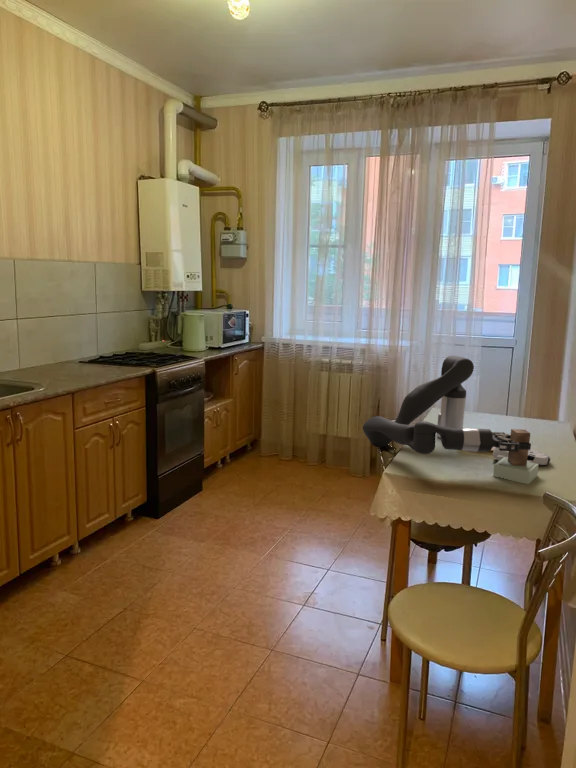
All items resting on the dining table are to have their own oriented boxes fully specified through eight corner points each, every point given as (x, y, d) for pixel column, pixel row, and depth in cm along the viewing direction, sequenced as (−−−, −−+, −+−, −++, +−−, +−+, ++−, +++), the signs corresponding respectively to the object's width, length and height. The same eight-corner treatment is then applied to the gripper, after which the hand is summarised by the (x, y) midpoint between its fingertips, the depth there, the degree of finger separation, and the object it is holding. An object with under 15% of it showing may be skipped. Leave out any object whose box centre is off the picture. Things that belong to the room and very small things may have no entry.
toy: (477, 451, 213) (499, 466, 193) (480, 439, 212) (502, 452, 192) (533, 460, 214) (561, 476, 194) (536, 448, 214) (564, 463, 194)
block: (512, 465, 184) (516, 432, 182) (507, 461, 189) (511, 428, 187) (526, 466, 184) (530, 433, 182) (521, 461, 189) (525, 429, 187)
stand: (493, 476, 186) (494, 463, 185) (503, 468, 195) (504, 456, 194) (528, 484, 180) (529, 471, 179) (537, 475, 188) (538, 463, 188)
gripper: (467, 444, 193) (516, 447, 193) (480, 457, 179) (532, 460, 179) (470, 423, 192) (518, 425, 191) (482, 434, 178) (535, 437, 177)
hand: (525, 442), depth 185 cm, fingers open, 8 cm apart
